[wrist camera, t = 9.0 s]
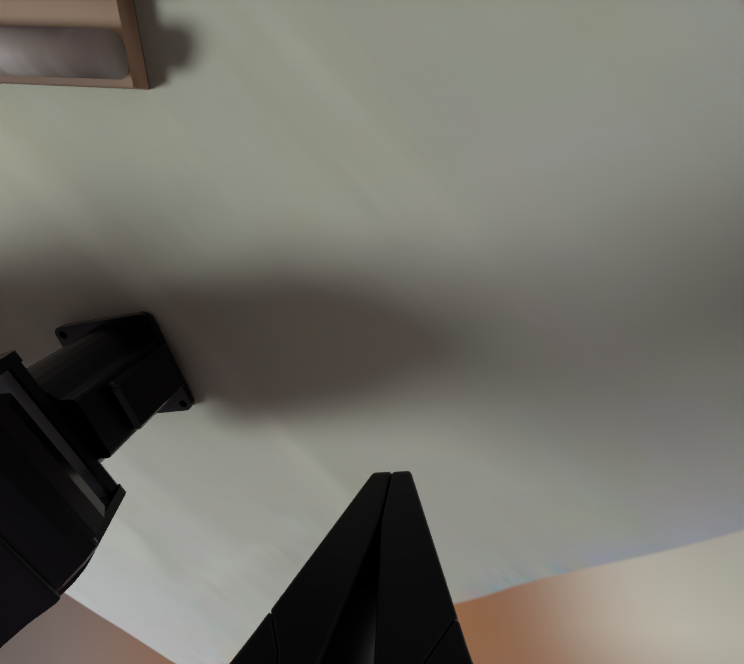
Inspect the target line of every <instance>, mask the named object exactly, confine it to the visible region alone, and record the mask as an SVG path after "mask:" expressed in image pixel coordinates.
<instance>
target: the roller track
mask: <svg viewBox="0 0 744 664" xmlns="http://www.w3.org/2000/svg"><path fill="white" fill-rule="evenodd" d="M0 83H7V84H30V85H54V86H77V87H100V88H123V89H146V90H149V85H148V80H147V74H146V69H145V63H144V58H143V52H142V47H141V41H140V36H139V30H138V25H137V19H136V14H135V8H134V3H133V0H0Z"/></svg>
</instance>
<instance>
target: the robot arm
mask: <svg viewBox="0 0 744 664" xmlns="http://www.w3.org/2000/svg"><path fill="white" fill-rule="evenodd" d="M143 320H145V321H146V323H145V322H144V321H143ZM55 334H56V336H57V338H58V339H59V341H60V343H61V344H62V346H63V347H62V348H61V349H59V350H57V351H56V352H54V353H52V354H50V355H49V356H47V357H45V358H44V359H42V360H40V361H38V362H37V363H35V364H33V365H32V366H30V367H28V368H25V367H24V365H23V364H22V363H21V361H23V360H22V359H21V358H20V356H19V355H18V354H17V352H16V351H15V350H13V351H10V352H6V353H3V354H0V648H1V647H2V646H3V645H4V644H5V643H6V642H8V640H10V639H11V638H12V637H13V636H14V635H16V634H17V633H18V632H19V631H20V630H21V629H22V628H24V627H25V626H26V625H27V624H28V623H30V622H31V621H32V620H34V619H35V618H36V617H38V616H39V615H41V614H42V613H43V612H45V611H46V610H48V609H49V608H50V607H52V606H53V605H54V604H56V603H57V602H58V600H59V599H60V595H61V594H63V593H64V592H65V591H66V590H67V589H68V588H69V587H70V586H71V585H72V584H73V583H74V582H75V581H76V579H77V578H78V577H79V576H80V574H81V573H82V572H83V571H84V569H85V568H86V566H87V565H88V563H89V561H90V560H91V558H92V556H93V554H94V552H95V550H96V548H97V547H98V545H99V543H100V541H101V539H102V537H103V535H104V533H105V532H106V530H107V528H108V526H109V524H110V522H111V520H112V518H113V517H114V515H115V513H116V511H117V509H118V507H119V505H120V503H121V502H122V500H123V498H124V496H125V494H126V491H125V490H124V489H123V488H122V486H121V485H120V484H117V483H116V482H115V481H114V479H113V478H112V477H111V476H110V474H109V473H108V472H107V471H106V469H105V468H104V467H103V466H102V464H101V462H102V461H103V460H104V459H105V458H109V457H111V456H112V455H113V454H114V453H115V452H116V451H117V450H118V449H119V448H120V447H121V446H122V445H123V444H124V443H125V442H126V441H127V440H128V439H129V438H130V437H131V436H132V435H133V434H134V433H135V432H136V431H137V430H138V429H140V428H142V427H143V426H144V425H145V424H146V423H147V422H148V421H149V420H150V419H151V418H152V417H153V416H154V415H155V414H156V413H163V412H174V411H185V410H189V409H190V408H191V407H192V406H193V405H194V399H193V397H192V394H191V392H190V390H189V388H188V386H187V384H186V382H185V380H184V378H183V376H182V374H181V372H180V370H179V368H178V366H177V364H176V362H175V360H174V358H173V356H172V354H171V351H170V349H169V347H168V345H167V343H166V341H165V339H164V337H163V335H162V333H161V331H160V329H159V327H158V325H157V323H156V321H155V319H154V317H153V316H152V315H151V314H150V313H148V312H137V313H131V314H125V315H119V316H113V317H107V318H101V319H95V320H88V321H82V322H76V323H70V324H64V325H62V326H60V327H58V328H56V330H55ZM184 401H185V402H184ZM271 613H272V614H271ZM271 613H268V614H267V616H266V617H265V618H264V620H263V621H262V622H261V624H260V625H259V626H258V628H257V629H256V630H255V632H254V633H253V634H252V636H251V637H250V638H249V640H248V641H247V642H246V643H245V645H244V646H243V647H242V648H241V650H240V651H239V652H238V654H237V655H236V656H235V657H234V659H233V660H232V661H231V662H230V664H473V662H472V659H471V656H470V654H469V651H468V648H467V645H466V642H465V639H464V636H463V633H462V629H461V626H460V623H459V622H458V618H457V614H456V611H455V608H454V605H453V602H452V599H451V596H450V593H449V589H448V586H447V583H446V580H445V577H444V574H443V571H442V568H441V564H440V561H439V558H438V555H437V552H436V549H435V546H434V543H433V540H432V536H431V533H430V530H429V527H428V524H427V521H426V518H425V515H424V511H423V508H422V505H421V502H420V499H419V496H418V493H417V490H416V486H415V483H414V480H413V477H412V474H411V472H409V471H400V472H393V473H390V472H378V473H374V474H372V475H371V476H370V478H369V479H368V480H367V482H366V483H365V484H364V486H363V487H362V488H361V490H360V491H359V493H358V494H357V495H356V497H355V498H354V499H353V501H352V502H351V503H350V505H349V506H348V507H347V509H346V510H345V511H344V513H343V514H342V515H341V517H340V518H339V519H338V521H337V522H336V523H335V525H334V526H333V527H332V529H331V530H330V531H329V533H328V534H327V535H326V537H325V538H324V539H323V541H322V542H321V544H320V545H319V546H318V548H317V549H316V550H315V552H314V553H313V554H312V556H311V557H310V558H309V560H308V561H307V562H306V564H305V565H304V566H303V568H302V569H301V570H300V572H299V573H298V574H297V576H296V577H295V578H294V580H293V581H292V582H291V584H290V585H289V586H288V588H287V589H286V590H285V592H284V593H283V595H282V596H281V597H280V599H279V600H278V601H277V603H276V604H275V605H274V607H273V608H272V610H271Z"/></svg>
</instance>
